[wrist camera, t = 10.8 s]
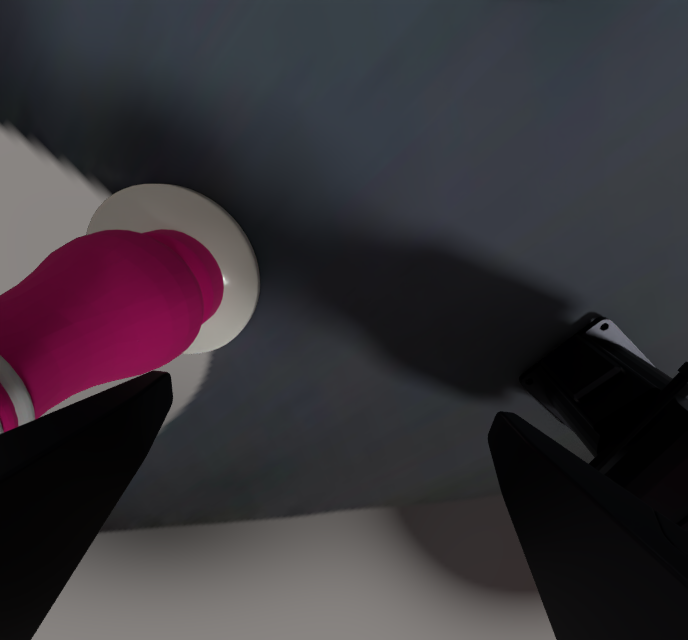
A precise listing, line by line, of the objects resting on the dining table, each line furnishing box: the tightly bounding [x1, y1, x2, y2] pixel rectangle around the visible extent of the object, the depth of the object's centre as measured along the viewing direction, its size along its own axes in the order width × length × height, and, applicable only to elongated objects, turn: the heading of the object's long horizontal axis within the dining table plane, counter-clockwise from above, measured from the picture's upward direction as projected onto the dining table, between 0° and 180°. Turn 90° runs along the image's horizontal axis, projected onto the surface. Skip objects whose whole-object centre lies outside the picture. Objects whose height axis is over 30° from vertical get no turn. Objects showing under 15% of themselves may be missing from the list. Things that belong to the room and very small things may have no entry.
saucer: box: [86, 184, 260, 354], centre depth 22 cm, size 11×11×1 cm
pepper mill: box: [0, 229, 224, 434], centre depth 12 cm, size 7×7×20 cm
